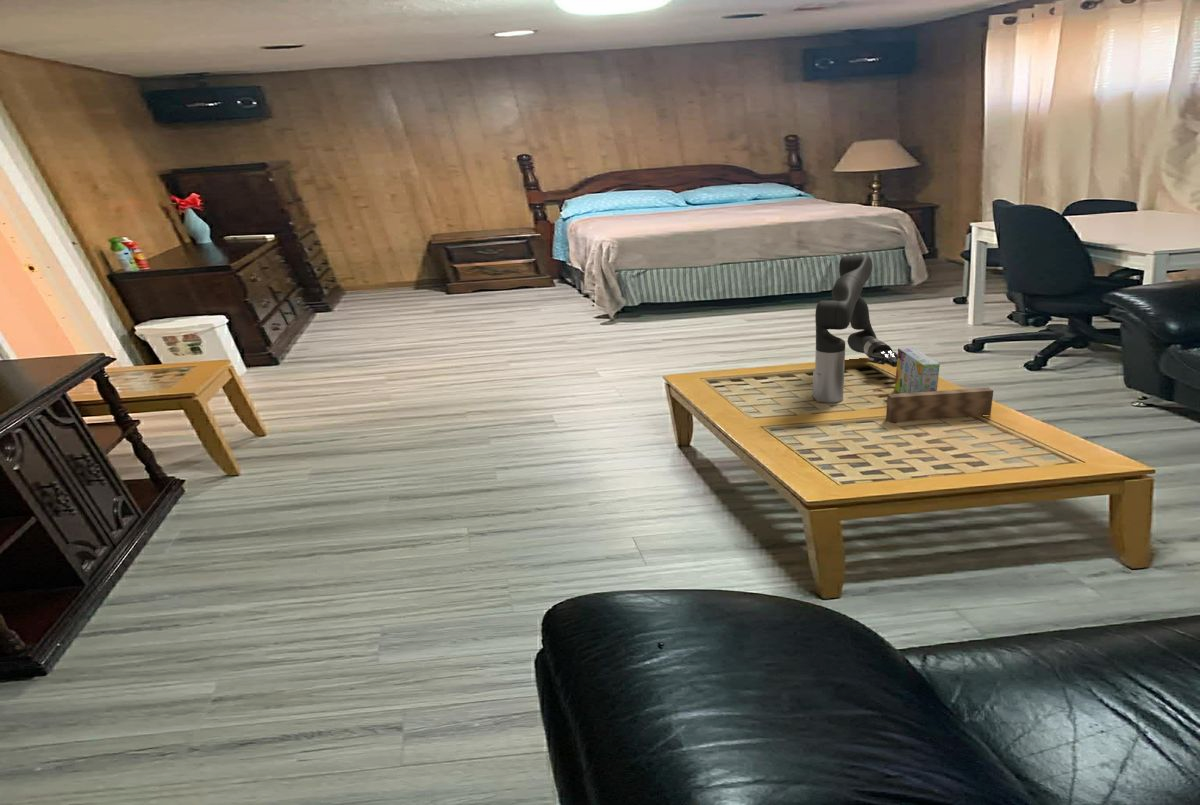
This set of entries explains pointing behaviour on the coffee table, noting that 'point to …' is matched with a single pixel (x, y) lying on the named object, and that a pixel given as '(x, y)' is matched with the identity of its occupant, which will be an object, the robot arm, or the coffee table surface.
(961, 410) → the board
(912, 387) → the snack box
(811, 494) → the coffee table surface
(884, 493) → the coffee table surface
